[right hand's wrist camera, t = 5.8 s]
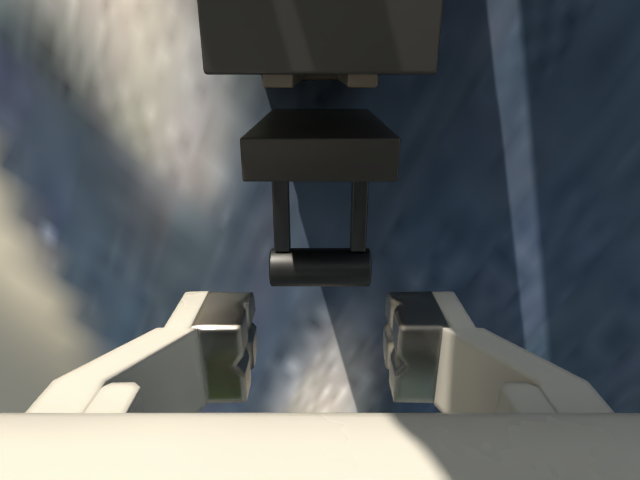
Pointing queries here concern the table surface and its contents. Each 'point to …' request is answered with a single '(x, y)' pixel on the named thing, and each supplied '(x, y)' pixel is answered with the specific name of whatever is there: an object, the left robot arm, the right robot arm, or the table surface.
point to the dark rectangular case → (320, 36)
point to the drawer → (320, 176)
